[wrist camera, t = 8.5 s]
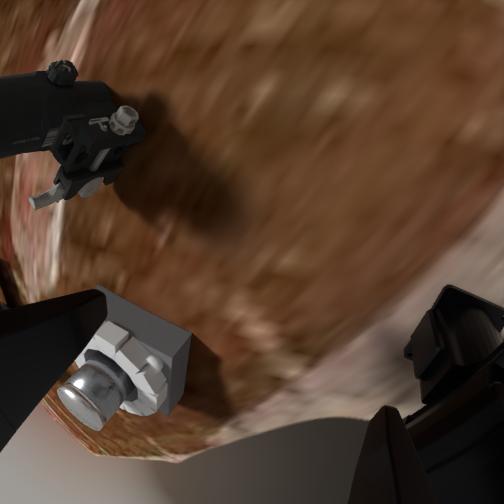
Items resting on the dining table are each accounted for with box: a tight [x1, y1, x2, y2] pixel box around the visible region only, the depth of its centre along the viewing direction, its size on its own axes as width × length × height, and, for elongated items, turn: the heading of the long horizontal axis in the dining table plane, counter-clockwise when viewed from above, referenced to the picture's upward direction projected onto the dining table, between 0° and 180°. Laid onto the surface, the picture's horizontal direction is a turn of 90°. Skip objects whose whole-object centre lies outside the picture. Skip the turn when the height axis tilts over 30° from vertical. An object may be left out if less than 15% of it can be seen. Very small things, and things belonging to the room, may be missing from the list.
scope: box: [0, 60, 147, 210], centre depth 15 cm, size 8×14×10 cm
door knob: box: [57, 350, 136, 431], centre depth 24 cm, size 5×5×7 cm
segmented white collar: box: [75, 285, 192, 416], centre depth 27 cm, size 11×10×6 cm
